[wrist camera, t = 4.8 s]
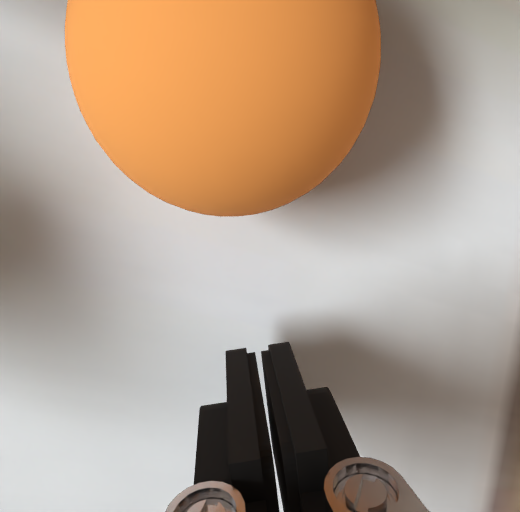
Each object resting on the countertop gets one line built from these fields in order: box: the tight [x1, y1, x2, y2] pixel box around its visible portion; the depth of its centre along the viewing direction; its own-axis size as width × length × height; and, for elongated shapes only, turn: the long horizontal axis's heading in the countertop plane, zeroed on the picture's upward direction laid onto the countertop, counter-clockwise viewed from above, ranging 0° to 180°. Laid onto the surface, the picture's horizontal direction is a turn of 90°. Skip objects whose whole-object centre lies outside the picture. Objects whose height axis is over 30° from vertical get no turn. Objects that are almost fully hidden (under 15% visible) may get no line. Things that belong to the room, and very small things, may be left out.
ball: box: [65, 0, 381, 216], centre depth 8 cm, size 6×6×6 cm
